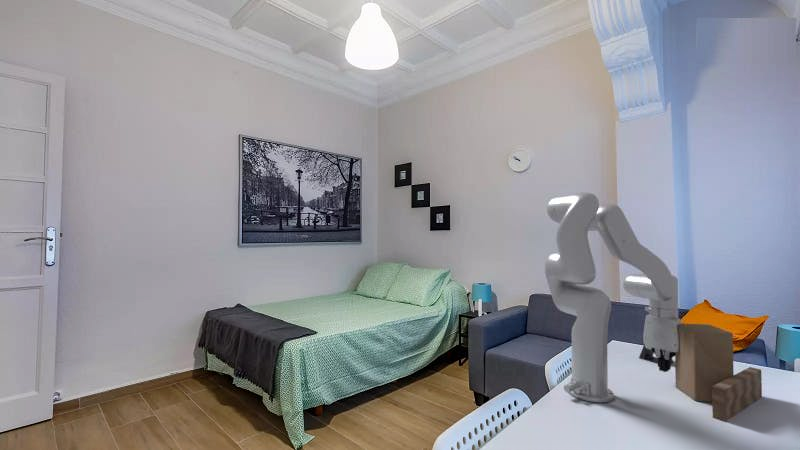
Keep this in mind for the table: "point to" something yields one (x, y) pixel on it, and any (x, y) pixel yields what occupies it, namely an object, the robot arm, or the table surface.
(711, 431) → the table surface
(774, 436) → the table surface
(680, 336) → the wooden block
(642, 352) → the phone stand
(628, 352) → the table surface
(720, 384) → the walnut board
